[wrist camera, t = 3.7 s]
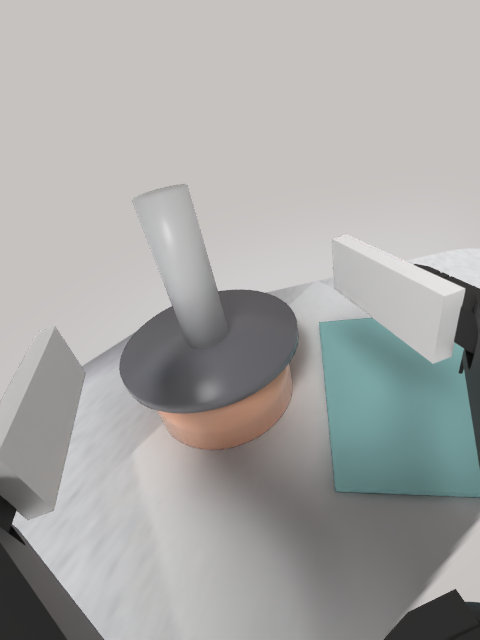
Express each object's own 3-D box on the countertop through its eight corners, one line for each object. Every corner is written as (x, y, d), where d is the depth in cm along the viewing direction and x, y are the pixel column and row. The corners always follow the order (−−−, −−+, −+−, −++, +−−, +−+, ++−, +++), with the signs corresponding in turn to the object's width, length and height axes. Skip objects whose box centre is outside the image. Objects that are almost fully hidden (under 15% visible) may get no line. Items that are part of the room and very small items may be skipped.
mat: (335, 491, 18) (335, 487, 17) (319, 325, 31) (319, 322, 30) (684, 505, 14) (689, 501, 14) (498, 310, 27) (499, 306, 27)
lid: (88, 415, 20) (-26, 255, 14) (161, 305, 30) (114, 188, 24) (298, 411, 17) (264, 202, 11) (298, 290, 27) (280, 151, 21)
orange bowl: (139, 449, 23) (110, 402, 20) (184, 351, 32) (167, 309, 29) (291, 450, 20) (280, 397, 18) (293, 343, 29) (286, 297, 26)
